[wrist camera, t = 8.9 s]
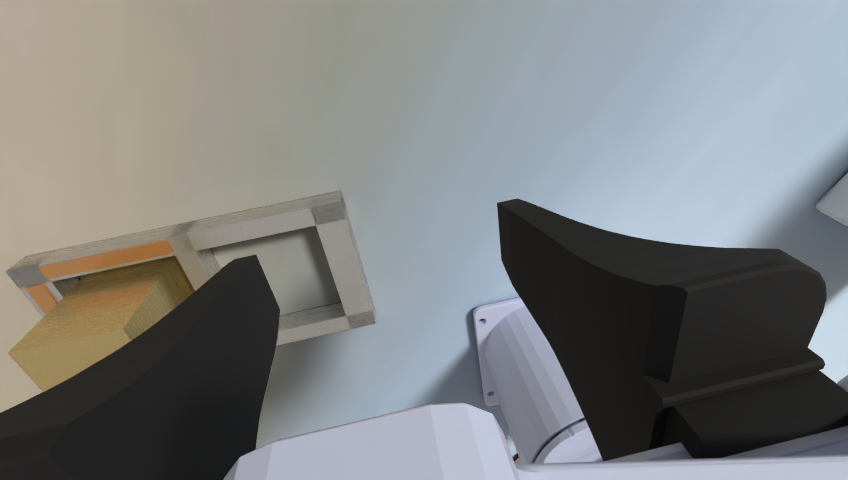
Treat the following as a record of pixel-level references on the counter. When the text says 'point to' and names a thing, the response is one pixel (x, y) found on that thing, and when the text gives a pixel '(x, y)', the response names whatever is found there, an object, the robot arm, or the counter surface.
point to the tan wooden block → (100, 318)
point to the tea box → (836, 201)
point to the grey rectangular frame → (191, 244)
